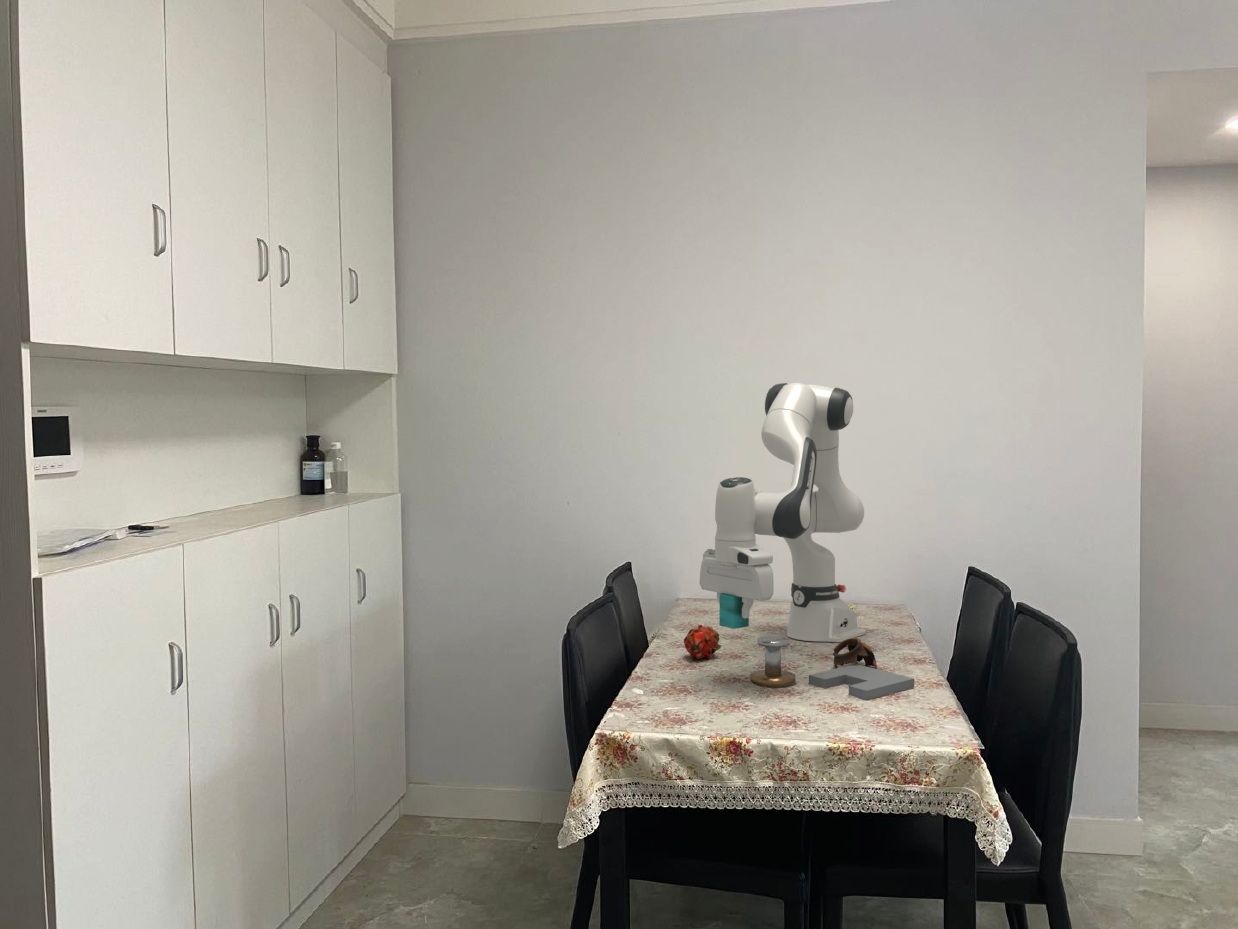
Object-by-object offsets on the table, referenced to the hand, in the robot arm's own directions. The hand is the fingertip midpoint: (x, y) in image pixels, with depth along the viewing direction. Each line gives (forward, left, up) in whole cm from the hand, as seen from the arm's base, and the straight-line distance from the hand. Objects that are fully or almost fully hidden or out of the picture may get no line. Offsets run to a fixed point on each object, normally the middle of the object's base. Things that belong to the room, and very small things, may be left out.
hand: (734, 615), depth 218 cm
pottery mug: (-34, +6, -16) cm, 38 cm away
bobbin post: (-9, +2, -16) cm, 18 cm away
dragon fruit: (-11, -24, -16) cm, 31 cm away
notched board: (-22, +16, -16) cm, 32 cm away
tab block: (0, 0, -2) cm, 2 cm away
